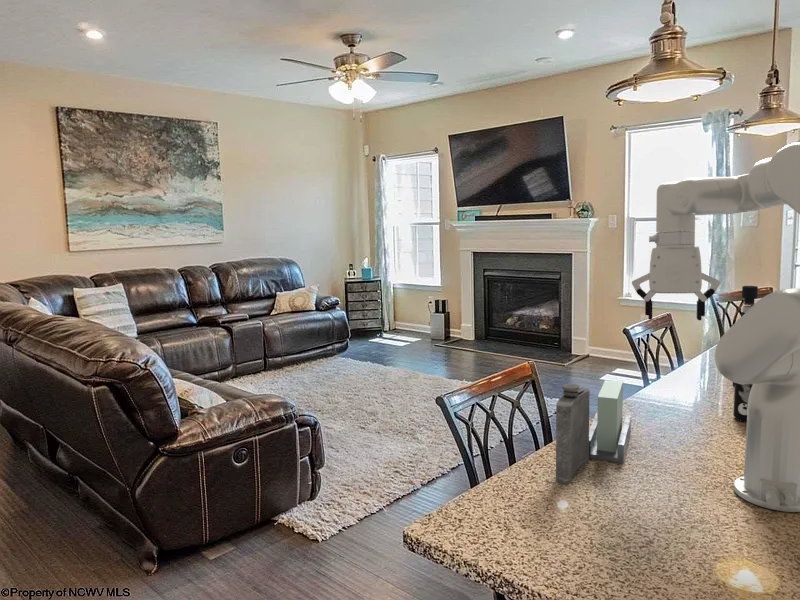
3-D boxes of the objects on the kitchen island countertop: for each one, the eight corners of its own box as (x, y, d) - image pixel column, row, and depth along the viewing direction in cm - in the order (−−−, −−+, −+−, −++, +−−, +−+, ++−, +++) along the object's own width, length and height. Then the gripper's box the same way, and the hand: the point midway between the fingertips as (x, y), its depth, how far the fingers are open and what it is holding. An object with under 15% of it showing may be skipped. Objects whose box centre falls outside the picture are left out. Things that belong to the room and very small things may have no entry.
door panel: (616, 452, 124) (617, 398, 123) (596, 449, 126) (597, 396, 124) (621, 430, 137) (623, 381, 135) (604, 428, 138) (605, 380, 137)
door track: (623, 463, 121) (623, 445, 120) (584, 457, 124) (584, 440, 124) (630, 431, 139) (631, 415, 138) (596, 427, 142) (596, 411, 142)
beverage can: (768, 424, 140) (771, 376, 139) (738, 423, 142) (741, 376, 140) (757, 415, 147) (759, 369, 145) (729, 414, 148) (731, 369, 147)
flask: (549, 481, 114) (550, 393, 111) (573, 456, 125) (574, 376, 123) (567, 485, 112) (568, 396, 109) (590, 459, 123) (591, 378, 121)
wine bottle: (762, 387, 170) (768, 286, 166) (747, 390, 168) (752, 288, 164) (742, 382, 176) (747, 284, 172) (727, 384, 174) (732, 286, 170)
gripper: (631, 242, 124) (631, 320, 126) (723, 239, 117) (721, 322, 119) (632, 241, 131) (631, 316, 133) (718, 238, 124) (717, 317, 126)
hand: (674, 319), depth 126 cm, fingers open, 9 cm apart
